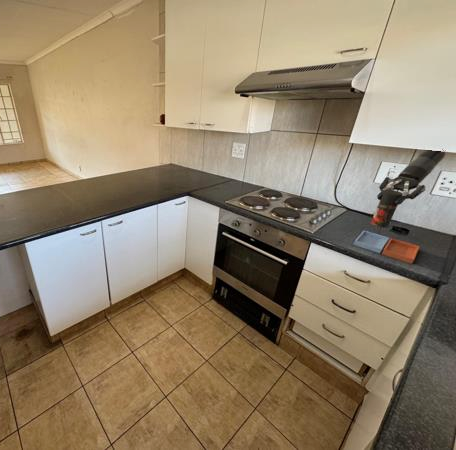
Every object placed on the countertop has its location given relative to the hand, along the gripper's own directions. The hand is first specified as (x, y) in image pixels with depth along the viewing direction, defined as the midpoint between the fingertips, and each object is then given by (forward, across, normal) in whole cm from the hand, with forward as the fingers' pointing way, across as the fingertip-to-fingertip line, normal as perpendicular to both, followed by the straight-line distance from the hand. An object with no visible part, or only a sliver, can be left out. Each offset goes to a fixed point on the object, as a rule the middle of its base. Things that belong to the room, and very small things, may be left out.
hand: (387, 201), depth 104 cm
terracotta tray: (+11, +10, +18) cm, 24 cm away
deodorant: (+7, 0, +9) cm, 12 cm away
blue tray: (+14, 0, +16) cm, 21 cm away
